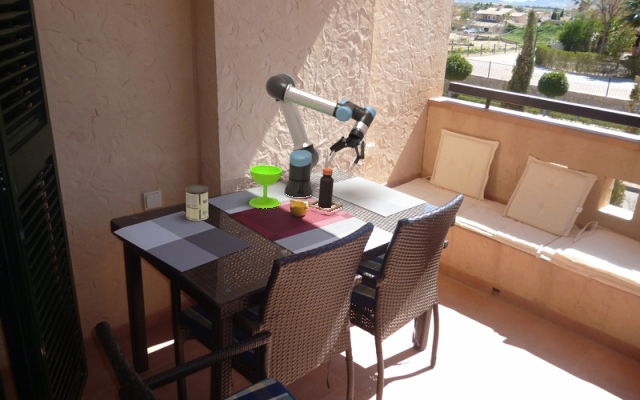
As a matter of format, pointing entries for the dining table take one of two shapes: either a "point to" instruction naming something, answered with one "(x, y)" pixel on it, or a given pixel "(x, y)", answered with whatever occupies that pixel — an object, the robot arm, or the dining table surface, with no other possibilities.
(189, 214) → the coffee can
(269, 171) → the wineglass
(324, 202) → the vinegar
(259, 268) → the dining table surface
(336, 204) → the tray
